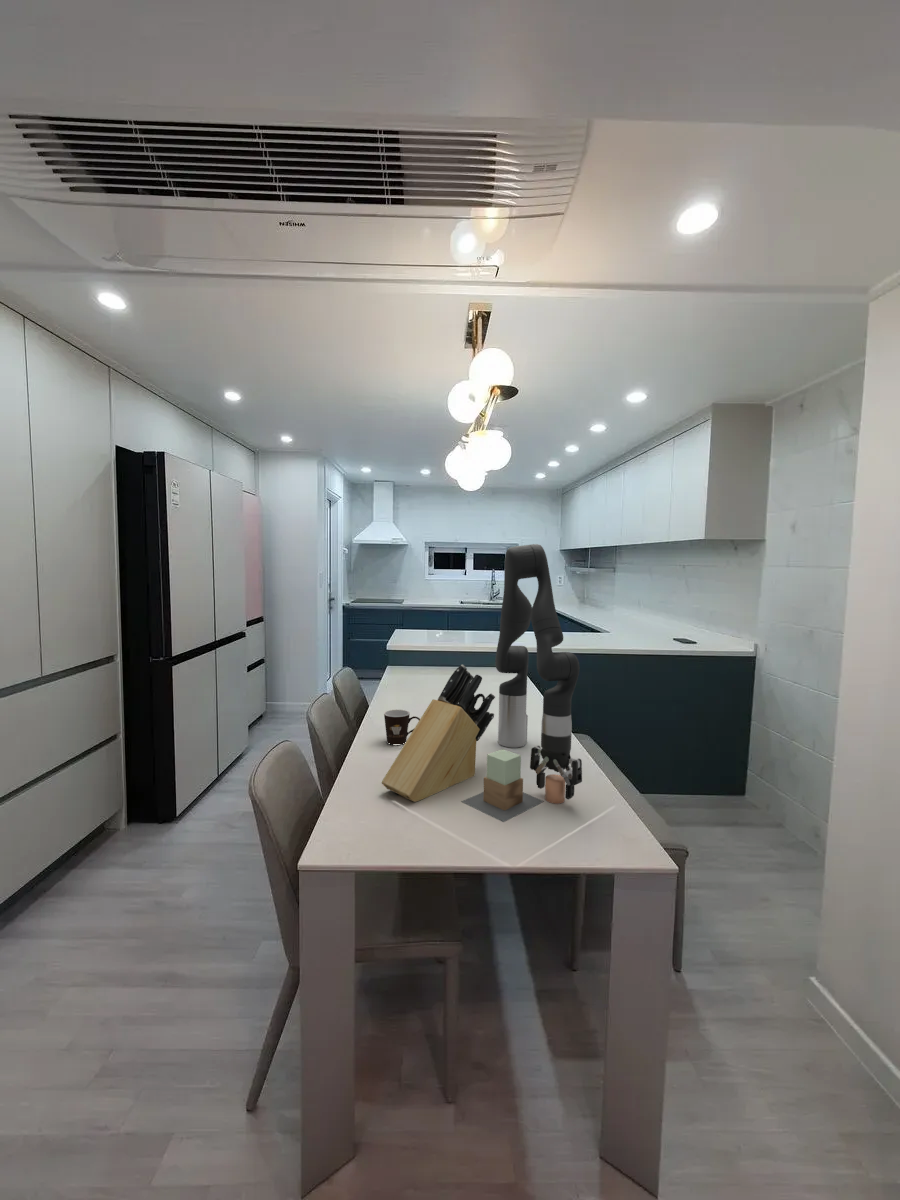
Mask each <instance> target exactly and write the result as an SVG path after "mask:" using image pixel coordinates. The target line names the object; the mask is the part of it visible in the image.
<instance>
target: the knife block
mask: <svg viewBox="0 0 900 1200" xmlns="http://www.w3.org/2000/svg"><path fill="white" fill-rule="evenodd" d="M482 680H483V677H482V676H481V675H479V674H475V676H473V675H472V674H471V673H470V672H469V671H468V669H467V667H466V666H465V665H464V664H461V665H459V666H458V667H457V668H456V669H455V670H454V671H453V673H452V674H451V676H450V677H449V678H448V680H447V682H446V684H445V685H444V688H443V689H442V691H441V692H440V695H439V697H438V698H437V699H432V700H431V701H430V702H429V704H428V706H427V708H426V709H425V711H424V712H423V714H422V716H420V720H418V722H417V723H416V725H415V727H414V728H413V729H414V730H413V729H412V730H413V732H411V733H410V735H408V736H409V737H407V739H406V743H405V744H403V746H402V748H401V750H400V751H399V753H398V755H397V756H396V758H395V759H394V761H393V763H392V765H391V766H390V767H389V768H388V771H387V772H386V774H385V776H384V778H383V779H382V781H381V783H380V784H382V786H383V787H385V788H386V789H387V790H390V791H391V792H393V793H396V794H398V795H399V796H402V797H403V798H405V799H407V800H410V801H412V802H414V803H417V802H419V801H422V800H424V799H427V798H429V797H431V796H432V795H435V794H437V793H439V792H442V791H444V790H446V789H448V788H449V787H452V786H454V785H457V784H459V783H461V782H464V781H466V780H468V779H470V778H473V777H475V774H476V760H477V759H476V757H477V755H476V754H477V742H479V740H480V739H481V737H482V736H483V734H484V733H485V731H486V730H487V728H488V727H489V724H490V723H491V722H492V720H493V719H494V717H495V713H493V712H492V713H490V711H489V709H490V707H491V704H492V702H493V700H495V699H496V696H495V695H494V694H493V693H489V694H488V695H486V696H485V695H484V694H483V693H478V694H476V695H475V693H476V692H477V690H478V689H479V687H480V685H481V683H482ZM479 698H482V703H481V705H479V707H478V708H477V709H476V704H477V702H478V699H479Z"/></svg>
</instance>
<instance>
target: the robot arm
mask: <svg viewBox="0 0 900 1200" xmlns="http://www.w3.org/2000/svg"><path fill="white" fill-rule="evenodd" d="M504 556H505V557H504V575H503V576H504V581H503V583H504V584H503V587H504V588H503V597H502V604H501V612H500V622H499V623H500V624H499V625H500V626H499V636H498V637H499V638H498V642H497V647H496V651H495V659H494V660H495V662H494V664H495V669H496V670H497V672H498V673H502V674H516V676H514V677H513V678H512V679H510V680H507V681H504V682H501V683H500V684H499V687H498V696H499V697H498V723H497V725H498V726H497V728H498V729H497V730H498V732H497V743H498V744H499V745H500V746H501V747H506V748H521V747H524V746H526V743H528V725H529V724H528V719H529V715H528V714H527V698H528V697H527V696H528V694H527V692H528V691H527V690H528V689H527V688H528V673H529V672H528V671H529V659H530V658H529V650H528V648H527V647H526V645H524V646H523V645H512V644H514V643H515V642H516V641H517V640H519V639H520V638H521V637H522V636H523V635H524V634H525V633H526V632H527V630H528V629H529V627H530V624H531V626H532V630H533V633H534V637H535V642H536V671H537V673H538V675H539V677H540V678H541V679H542V680H543V681H546V682H556V681H557V682H556V685H554V686H553V687H550V688H548V689H546V690H545V691H544V693H543V700H542V715H541V716H542V717H541V730H540V731H541V733H540V738H541V739H540V745H535V746H534V747H531V750H530V760H529V761H530V762H529V769H530V770H532V771H535V772H534V773H535V774H536V785H537V788H538V789H544V788H545V778H546V772H545V771H546V770H547V769H548V770H551V771H554V772H556V773H559V775H561V776H562V777H563V778H564V780H565V800H571V799H572V798H573V797H575V786H577V785H578V784H581V783H582V782H583V763H582V759H581V758H572V756H571V750H572V728H573V726H572V725H573V724H572V723H573V722H572V699H573V695H574V692H575V689H576V685H577V682H578V678H579V675H580V669H581V668H580V666H581V665H580V662H579V658H578V657H577V655H576V654H575V653H573V652H569V651H568V652H567V651H562V652H553V650H552V649H553V648H555V647H557V646H559V645H561V644H562V643H563V641H564V633H563V630H562V627H561V623H560V621H559V617H558V614H557V610H556V605H555V601H554V592H553V587H552V580H551V576H550V575H551V574H550V568H549V567H550V566H549V563H548V557H547V554H546V552H545V549H544V547H543V546H542V545H541V544H538V543H535V544H534V543H533V544H524V545H516V546H510V547H509V548H508V549H507V550H506V552H505V555H504ZM531 578H536V579H537V585H538V586H537V591H536V596H535V598H534V602H533V604H531V602H530V600H529V598H528V597H527V596H526V595H525V594H524V593H523V591H522V590H521V588H520V586H519V584H518V582H519V581H520V580H522V579H523V580H524V579H531ZM541 758H542V761H541V762H540V760H541Z"/></svg>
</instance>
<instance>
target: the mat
mask: <svg viewBox="0 0 900 1200" xmlns="http://www.w3.org/2000/svg"><path fill="white" fill-rule="evenodd" d="M483 796H484V791H483V792H480V793H477V794H475V795H473V796H470V797H468V798H466V799H464V800H461V801H460V802H461V803H462V804H465V805H467V806H469V807H472V808H473V809H475V810H478V811H480V812H482V813H484V814H486V815H488V816H490V817H492V818H493V819H495V820H498V821H500V822H502V823H505V822H507V821H509V820H510V819H512V818H515V817H516V816H518V815H520V814H523V813H524V812H526V811H528V810H530V809H532V808H534V807H536V806H538V805H540V804H543V803H544V802H545V800H543V799H541V798H538V797H536V796H533V795H532V794H528V793H526V792H524V791H523V802H521V803H519V804H517V805H515V806H513V807H511V808H509V809H507V810H505V811H504V810H502V809H500V808H498V807H496V806H494V805H491V804H489V803H487V802H485V801H483Z"/></svg>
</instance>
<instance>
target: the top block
mask: <svg viewBox="0 0 900 1200" xmlns="http://www.w3.org/2000/svg"><path fill="white" fill-rule="evenodd" d="M521 761H522V755H521V754H518V753H515V752H512V751H509V750H507V749H504V748H502V749H499V750H496V751H493V752H491V753H488V754H487V755H486V777H487V778H488V779H491V780H493V781H496V782H498V783H500V784H503V785H507V784H509V783H512V782H514V781H516V780H518V779H520V778H521V768H522V767H521V765H522V762H521Z"/></svg>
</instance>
